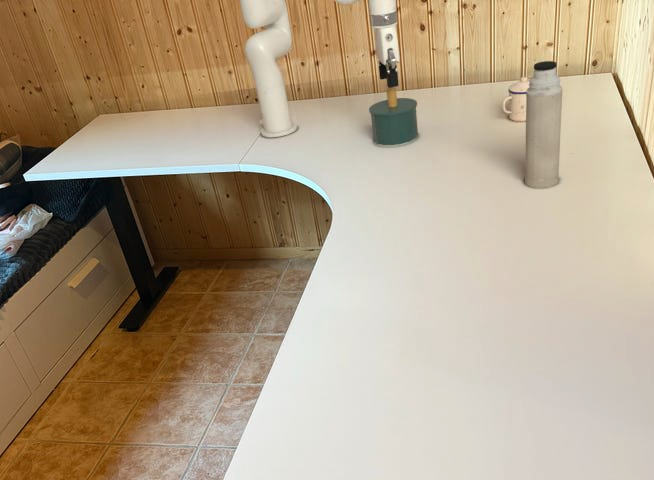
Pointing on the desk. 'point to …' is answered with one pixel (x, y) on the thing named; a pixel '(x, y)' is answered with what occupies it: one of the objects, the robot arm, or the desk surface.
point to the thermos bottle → (543, 126)
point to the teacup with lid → (517, 100)
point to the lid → (392, 105)
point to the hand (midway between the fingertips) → (389, 82)
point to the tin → (395, 128)
